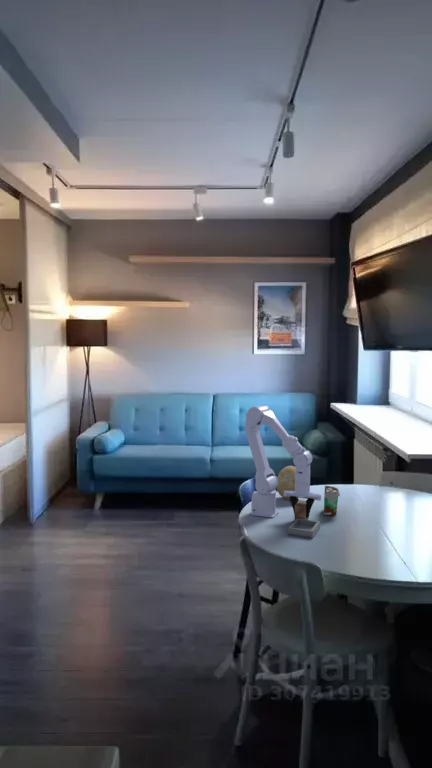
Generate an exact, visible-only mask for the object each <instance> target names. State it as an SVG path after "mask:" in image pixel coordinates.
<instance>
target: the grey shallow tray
mask: <svg viewBox="0 0 432 768" xmlns="http://www.w3.org/2000/svg"><path fill="white" fill-rule="evenodd" d="M320 528H321V521H319V520H311V519H308V520H304V519H296V520H295V521H293V522H292V523H291V524H290V525H289V527H288V529H287V530H288V531H287V535H289V536H294V537H302V538H308V539H314V537H315V535H316V534H317V533H318V532H319V530H320Z"/></svg>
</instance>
